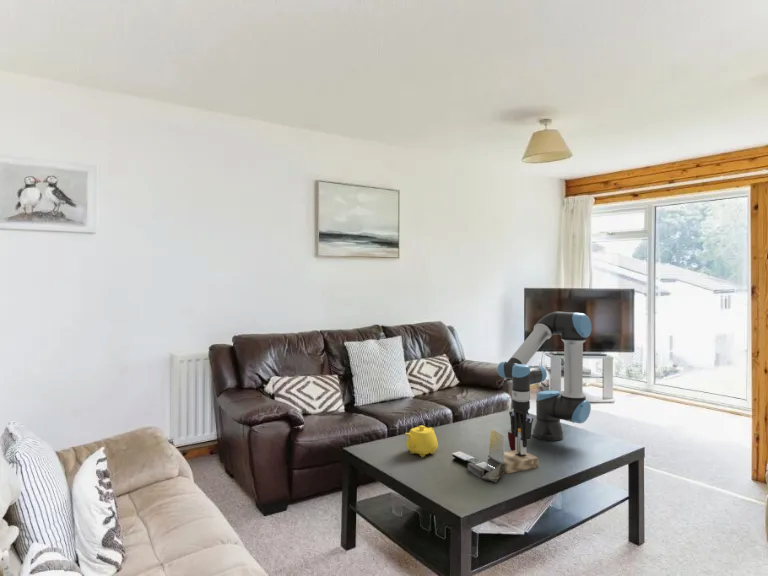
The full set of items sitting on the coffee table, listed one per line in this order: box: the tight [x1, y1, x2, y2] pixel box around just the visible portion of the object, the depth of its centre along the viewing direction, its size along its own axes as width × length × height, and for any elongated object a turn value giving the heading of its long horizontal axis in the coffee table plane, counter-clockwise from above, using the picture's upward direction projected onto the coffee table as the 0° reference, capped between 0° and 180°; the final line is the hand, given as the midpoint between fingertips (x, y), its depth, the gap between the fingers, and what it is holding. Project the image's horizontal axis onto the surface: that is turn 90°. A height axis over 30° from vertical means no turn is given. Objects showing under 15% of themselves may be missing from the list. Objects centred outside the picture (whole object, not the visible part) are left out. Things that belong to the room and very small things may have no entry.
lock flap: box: [487, 428, 506, 465], centre depth 215 cm, size 1×10×13 cm, turn 25°
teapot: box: [404, 425, 439, 458], centre depth 234 cm, size 14×20×13 cm
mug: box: [507, 428, 515, 451], centre depth 233 cm, size 10×8×10 cm
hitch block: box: [467, 450, 539, 478], centre depth 216 cm, size 30×12×4 cm, turn 115°
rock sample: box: [481, 464, 504, 484], centre depth 204 cm, size 10×8×9 cm
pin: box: [518, 427, 524, 457], centre depth 220 cm, size 3×3×14 cm
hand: (520, 452), depth 220 cm, fingers closed on pin, 3 cm apart
